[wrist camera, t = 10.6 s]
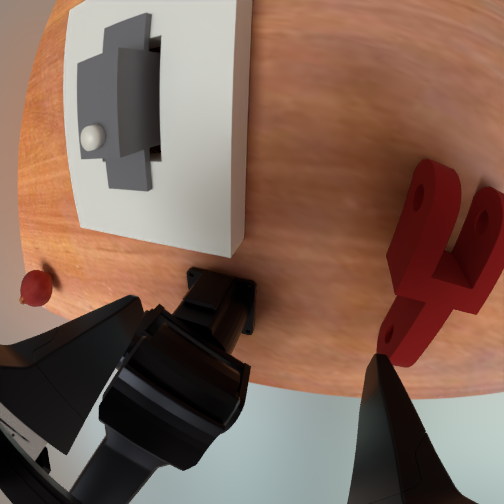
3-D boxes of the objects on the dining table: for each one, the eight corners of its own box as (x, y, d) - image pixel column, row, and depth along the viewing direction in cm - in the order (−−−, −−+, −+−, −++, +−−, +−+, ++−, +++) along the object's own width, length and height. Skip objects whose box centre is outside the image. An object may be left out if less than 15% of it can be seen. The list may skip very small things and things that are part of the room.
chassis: (244, 238, 22) (230, 258, 19) (100, 215, 25) (80, 227, 23) (254, -35, 10) (240, -53, 8) (92, 12, 14) (69, 10, 11)
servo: (134, 33, 15) (71, 25, 9) (175, 22, 14) (113, 3, 8) (136, 175, 22) (79, 203, 16) (174, 177, 21) (117, 208, 15)
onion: (58, 294, 38) (29, 321, 32) (40, 269, 37) (10, 294, 30) (64, 282, 35) (31, 312, 29) (44, 255, 34) (10, 282, 27)
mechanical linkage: (417, 152, 15) (443, 168, 10) (493, 186, 13) (528, 211, 9) (352, 327, 23) (350, 370, 19) (417, 340, 22) (423, 381, 18)
